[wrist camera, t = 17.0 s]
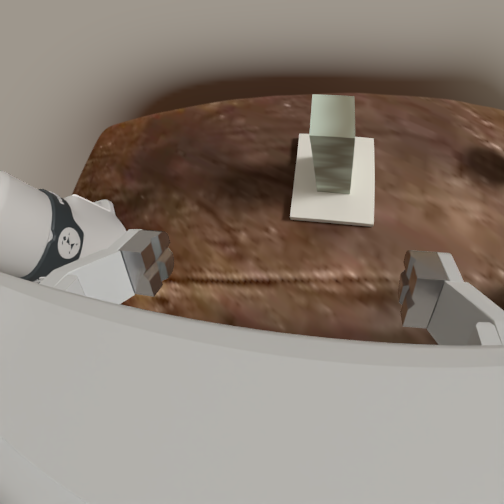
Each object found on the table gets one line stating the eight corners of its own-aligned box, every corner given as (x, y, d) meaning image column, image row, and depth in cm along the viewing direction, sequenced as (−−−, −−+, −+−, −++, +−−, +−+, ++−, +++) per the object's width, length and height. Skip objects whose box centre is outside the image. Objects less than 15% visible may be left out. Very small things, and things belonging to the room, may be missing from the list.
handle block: (317, 191, 37) (309, 135, 25) (319, 156, 38) (312, 94, 26) (349, 194, 36) (355, 138, 24) (350, 158, 37) (354, 96, 25)
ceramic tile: (290, 219, 38) (289, 216, 37) (300, 137, 40) (299, 133, 39) (372, 227, 35) (373, 224, 34) (373, 142, 37) (373, 138, 37)
